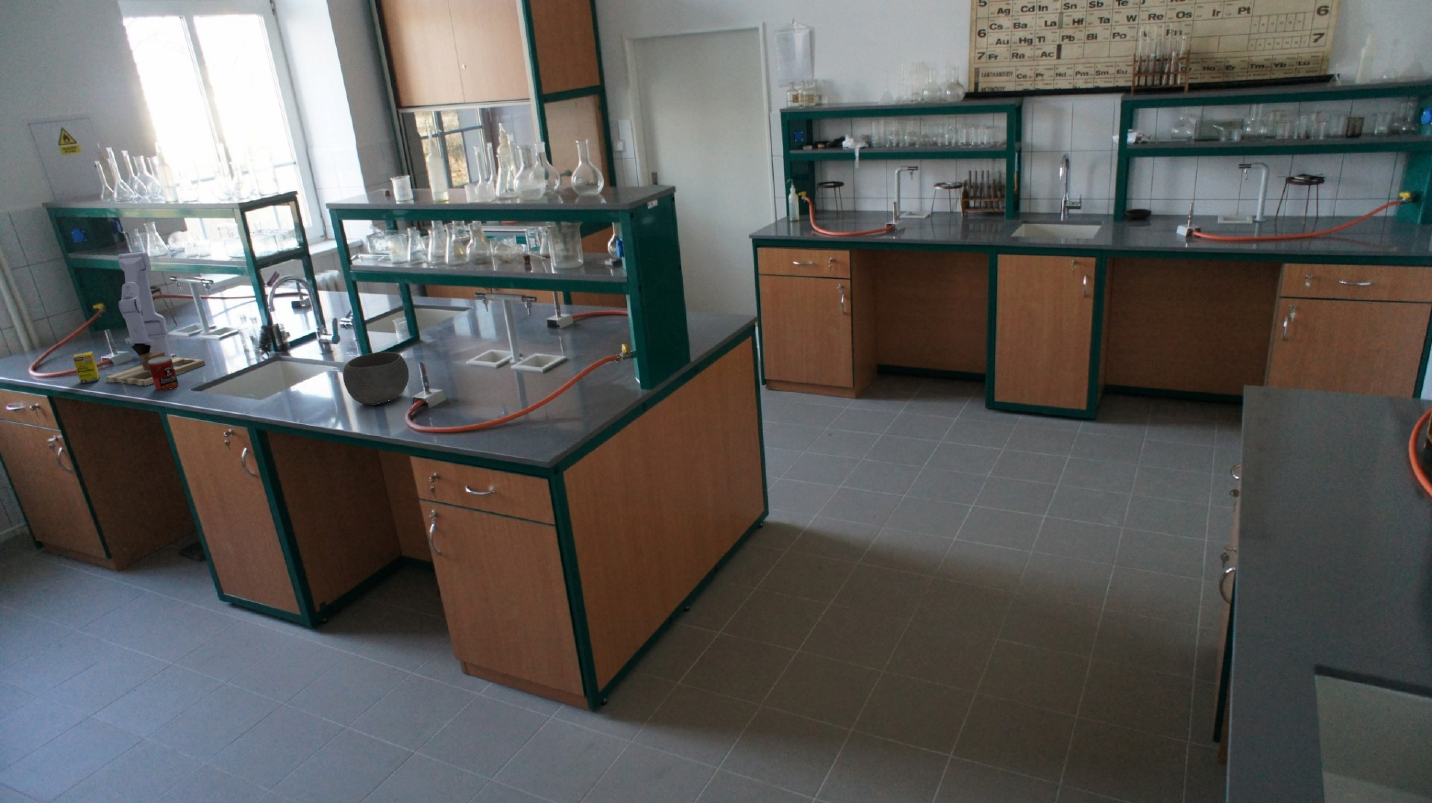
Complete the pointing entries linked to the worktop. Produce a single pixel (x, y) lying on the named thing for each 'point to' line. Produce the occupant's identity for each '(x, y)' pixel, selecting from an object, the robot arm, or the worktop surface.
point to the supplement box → (86, 367)
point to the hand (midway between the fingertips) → (146, 361)
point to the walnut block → (149, 356)
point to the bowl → (376, 377)
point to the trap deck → (144, 376)
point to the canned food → (163, 373)
